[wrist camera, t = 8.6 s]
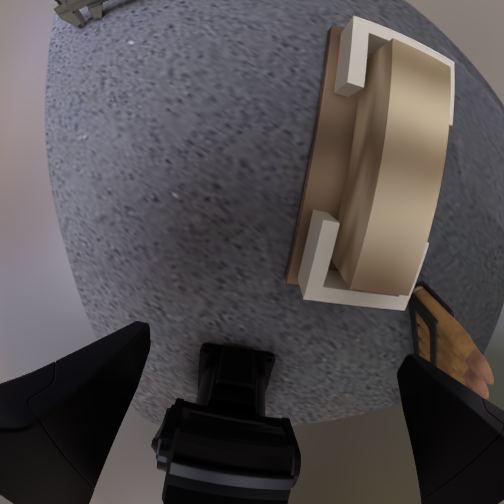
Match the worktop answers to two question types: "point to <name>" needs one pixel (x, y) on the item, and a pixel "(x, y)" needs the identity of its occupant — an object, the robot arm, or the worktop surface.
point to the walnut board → (326, 155)
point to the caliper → (68, 11)
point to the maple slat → (393, 169)
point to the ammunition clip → (446, 341)
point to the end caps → (322, 223)
